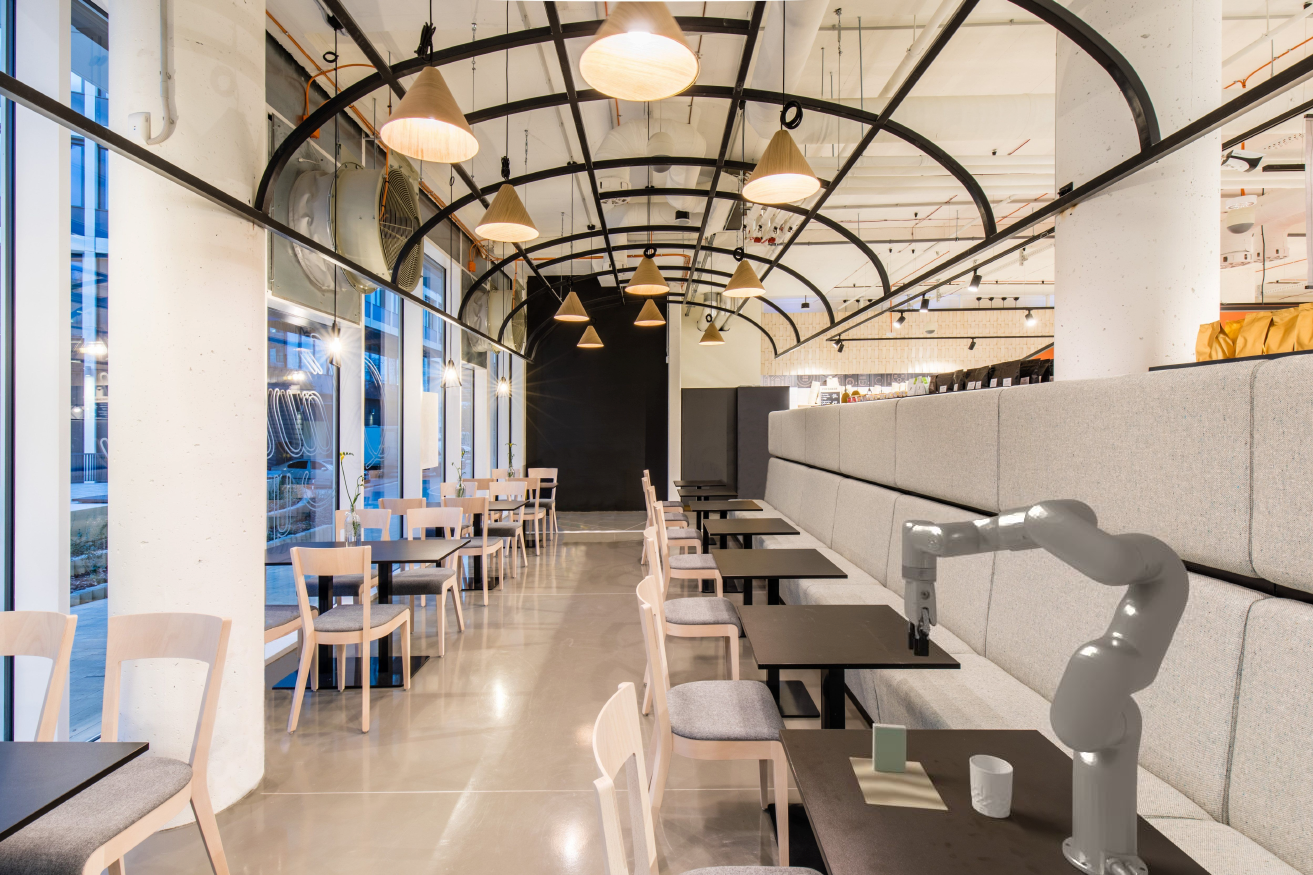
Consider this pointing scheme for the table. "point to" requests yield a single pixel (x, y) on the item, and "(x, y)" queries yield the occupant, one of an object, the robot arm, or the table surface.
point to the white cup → (991, 785)
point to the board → (897, 786)
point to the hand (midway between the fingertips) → (918, 651)
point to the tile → (889, 748)
